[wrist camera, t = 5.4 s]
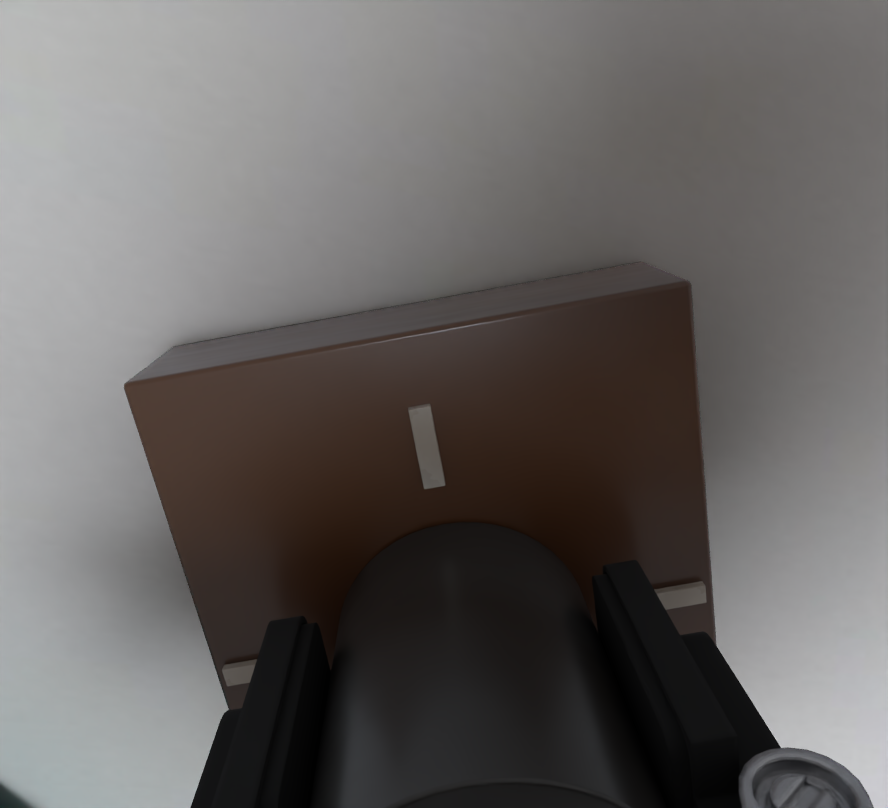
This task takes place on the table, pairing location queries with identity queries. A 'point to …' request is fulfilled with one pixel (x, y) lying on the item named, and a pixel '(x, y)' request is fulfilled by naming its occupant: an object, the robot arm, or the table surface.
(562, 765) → the rotary dial knob
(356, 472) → the walnut block
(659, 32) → the table surface
